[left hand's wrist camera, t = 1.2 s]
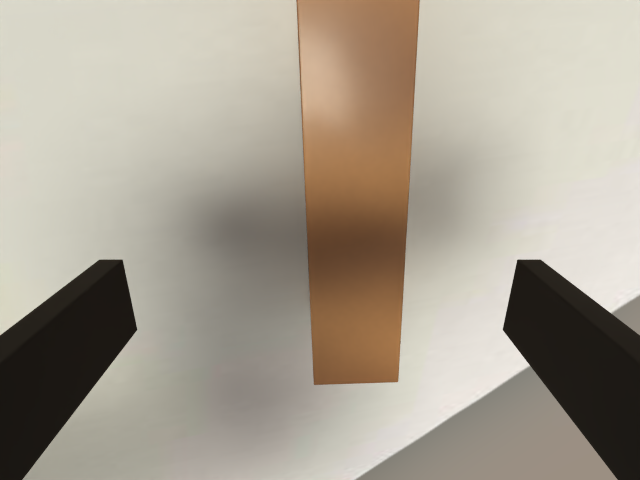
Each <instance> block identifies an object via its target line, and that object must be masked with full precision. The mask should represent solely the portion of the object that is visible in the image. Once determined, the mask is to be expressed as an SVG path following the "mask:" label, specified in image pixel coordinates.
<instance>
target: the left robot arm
mask: <svg viewBox="0 0 640 480" xmlns="http://www.w3.org/2000/svg"><path fill="white" fill-rule="evenodd" d="M136 331H137V327H136V322H135V317H134V312H133V307H132V303H131V298H130V293H129V288H128V284H127V279H126V274H125V269H124V264H123V260H98V261H97V262H96V263H95V264H93V265H92V266H91V267H89V268H88V269H87V270H85V271H84V272H83V273H81V274H80V275H79V276H78V277H76V278H75V279H74V280H72V281H71V282H70V283H68V284H67V285H66V286H64V287H63V288H62V289H60V290H59V291H58V292H57V293H55V294H54V295H53V296H51V297H50V298H49V299H47V300H46V301H45V302H43V303H42V304H41V305H40V306H38V307H37V308H36V309H34V310H33V311H32V312H30V313H29V314H28V315H26V316H25V317H24V318H23V319H21V320H20V321H19V322H17V323H16V324H15V325H13V326H12V327H11V328H9V329H8V330H7V331H5V332H4V333H3V334H2V335H0V480H22V479H23V478H24V477H25V475H26V474H27V473H28V471H29V470H30V469H31V468H32V466H33V465H34V464H35V462H36V461H37V460H38V458H39V457H40V456H41V455H42V453H43V452H44V451H45V449H46V448H47V447H48V445H49V444H50V443H51V441H52V440H53V439H54V438H55V436H56V435H57V434H58V432H59V431H60V430H61V428H62V427H63V426H64V425H65V423H66V422H67V421H68V419H69V418H70V417H71V415H72V414H73V413H74V411H75V410H76V409H77V408H78V406H79V405H80V404H81V402H82V401H83V400H84V398H85V397H86V396H87V395H88V393H89V392H90V391H91V389H92V388H93V387H94V385H95V384H96V383H97V382H98V380H99V379H100V378H101V376H102V375H103V374H104V372H105V371H106V370H107V368H108V367H109V366H110V365H111V363H112V362H113V361H114V359H115V358H116V357H117V355H118V354H119V353H120V352H121V350H122V349H123V348H124V346H125V345H126V344H127V342H128V341H129V340H130V338H131V337H132V336H133V335H134V333H135V332H136ZM503 331H504V332H505V333H506V335H507V336H508V337H509V338H510V340H511V341H512V342H513V344H514V345H515V346H516V348H517V349H518V350H519V352H520V353H521V354H522V355H523V357H524V358H525V359H526V361H527V362H528V363H529V365H530V366H531V367H532V368H533V370H534V371H535V372H536V374H537V375H538V376H539V378H540V379H541V380H542V382H543V383H544V384H545V385H546V387H547V388H548V389H549V391H550V392H551V393H552V395H553V396H554V397H555V398H556V400H557V401H558V402H559V404H560V405H561V406H562V408H563V409H564V410H565V411H566V413H567V414H568V415H569V417H570V418H571V419H572V421H573V422H574V423H575V425H576V426H577V427H578V428H579V430H580V431H581V432H582V434H583V435H584V436H585V438H586V439H587V440H588V441H589V443H590V444H591V445H592V447H593V448H594V449H595V451H596V452H597V453H598V455H599V456H600V457H601V458H602V460H603V461H604V462H605V464H606V465H607V466H608V468H609V469H610V470H611V471H612V473H613V474H614V475H615V477H616V478H617V479H618V480H640V335H638V334H637V333H636V332H635V331H633V330H632V329H631V328H629V327H628V326H627V325H625V324H624V323H623V322H621V321H620V320H619V319H617V318H616V317H615V316H614V315H612V314H611V313H610V312H608V311H607V310H606V309H604V308H603V307H602V306H600V305H599V304H598V303H597V302H595V301H594V300H593V299H591V298H590V297H589V296H587V295H586V294H585V293H583V292H582V291H581V290H580V289H578V288H577V287H576V286H574V285H573V284H572V283H570V282H569V281H568V280H566V279H565V278H564V277H562V276H561V275H560V274H559V273H557V272H556V271H555V270H553V269H552V268H551V267H549V266H548V265H547V264H545V263H544V262H543V261H542V260H517V264H516V269H515V274H514V279H513V284H512V288H511V293H510V298H509V303H508V307H507V312H506V317H505V322H504V327H503Z"/></svg>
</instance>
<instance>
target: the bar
mask: <svg viewBox="0 0 640 480" xmlns="http://www.w3.org/2000/svg"><path fill="white" fill-rule="evenodd" d="M419 2H420V0H297V19H298V41H299V64H300V86H301V108H302V130H303V153H304V175H305V197H306V220H307V242H308V264H309V287H310V309H311V331H312V353H313V376H314V385H323V384H353V383H383V382H398V375H399V357H400V339H401V321H402V304H403V286H404V268H405V250H406V233H407V215H408V197H409V179H410V162H411V144H412V126H413V108H414V91H415V73H416V55H417V37H418V20H419Z"/></svg>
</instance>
